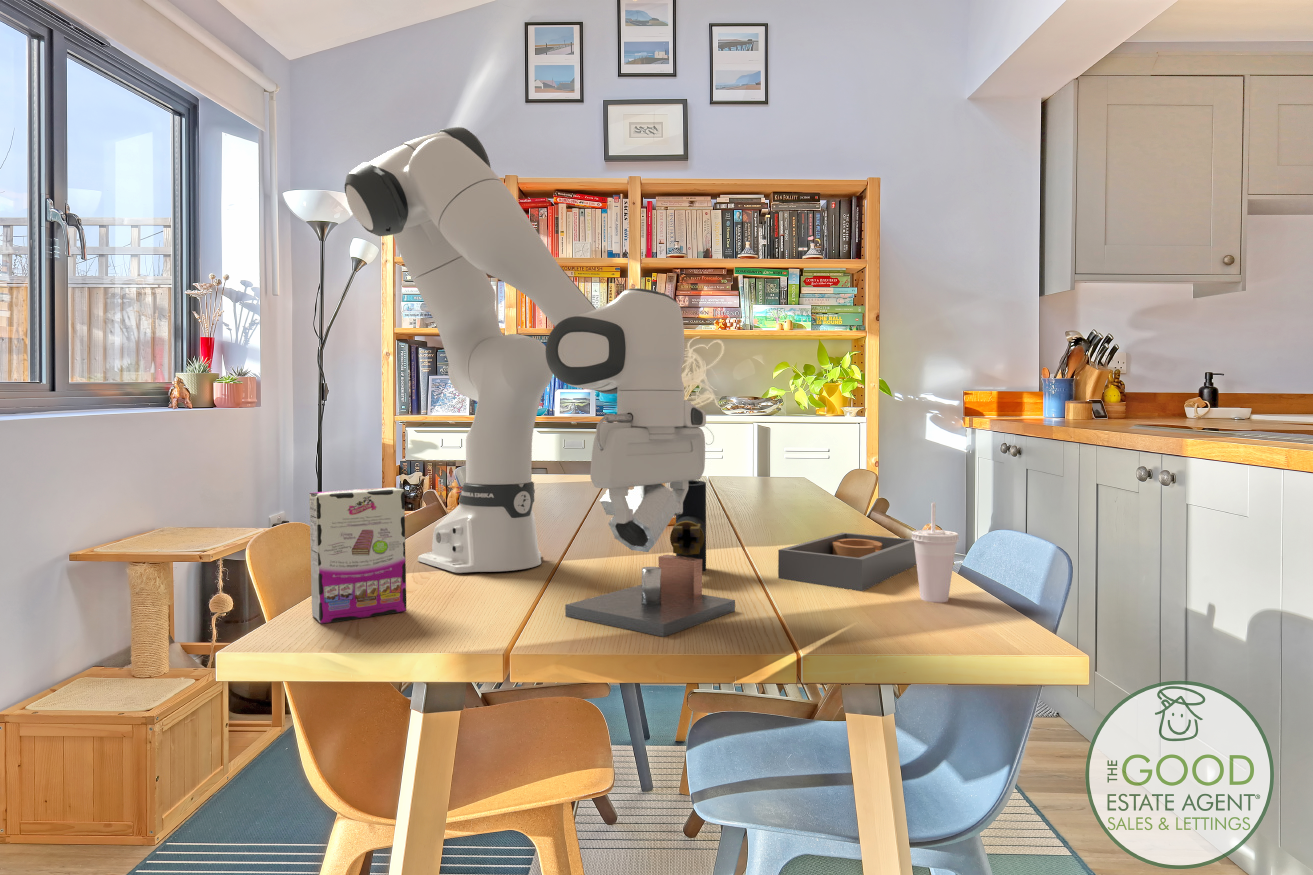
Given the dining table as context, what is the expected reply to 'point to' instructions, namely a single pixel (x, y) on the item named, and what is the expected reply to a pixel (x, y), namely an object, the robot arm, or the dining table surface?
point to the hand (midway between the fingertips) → (650, 518)
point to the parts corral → (845, 562)
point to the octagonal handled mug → (643, 516)
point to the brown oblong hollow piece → (855, 547)
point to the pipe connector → (691, 524)
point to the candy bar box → (357, 553)
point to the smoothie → (934, 560)
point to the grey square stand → (656, 600)
